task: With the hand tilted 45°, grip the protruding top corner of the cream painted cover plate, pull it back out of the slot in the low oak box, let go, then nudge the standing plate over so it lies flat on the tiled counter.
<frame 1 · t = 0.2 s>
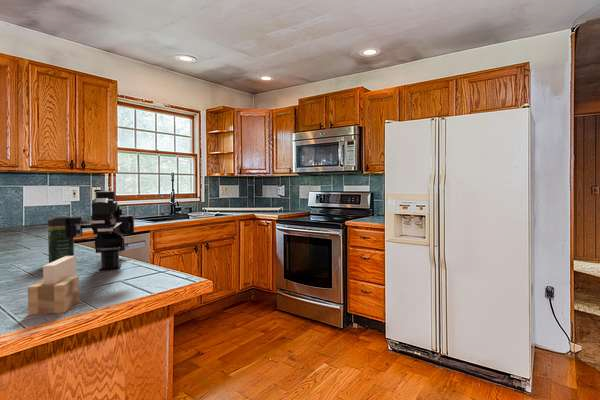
hand: (96, 230, 101), 17 cm above the table, tool horizontal, fingers open, 9 cm apart
coffee jar: (61, 264, 131), on the table
oak box: (55, 307, 85), on the table
cover plate: (61, 303, 88), on the table
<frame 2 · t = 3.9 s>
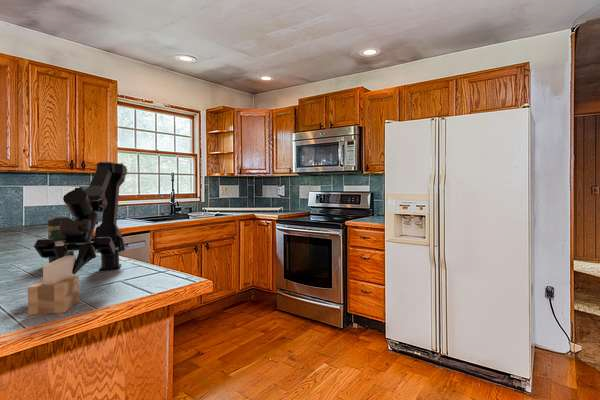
hand: (67, 273, 91), 7 cm above the table, tool tilted 45°, fingers closed on cover plate, 2 cm apart
cover plate: (61, 302, 88), on the table, touching gripper
everything else where it was.
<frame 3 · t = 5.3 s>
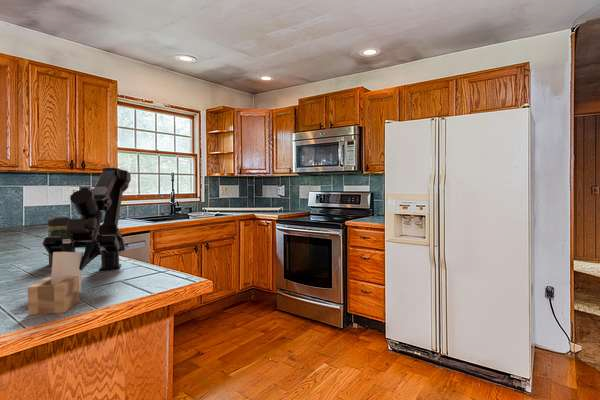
hand: (74, 269, 96), 7 cm above the table, tool tilted 45°, fingers closed on cover plate, 2 cm apart
cover plate: (66, 294, 90), point 1 cm above the table, tilted 12°, touching gripper
everything else where it was.
when the fingers open (7 cm above the table, at t = 6.5 s): cover plate stays where it is, on the table.
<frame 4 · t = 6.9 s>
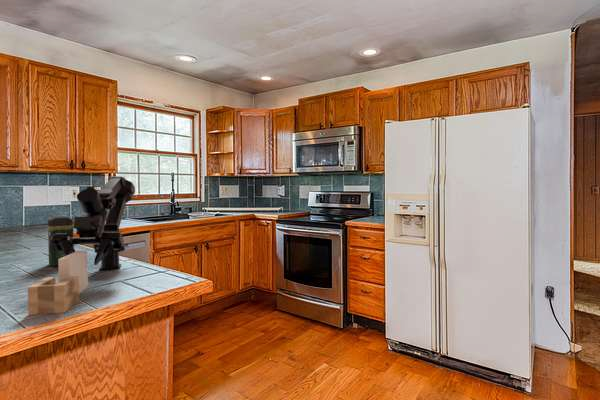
hand: (81, 264, 100), 7 cm above the table, tool tilted 45°, fingers open, 7 cm apart
cover plate: (74, 293, 96), on the table
everything else where it was.
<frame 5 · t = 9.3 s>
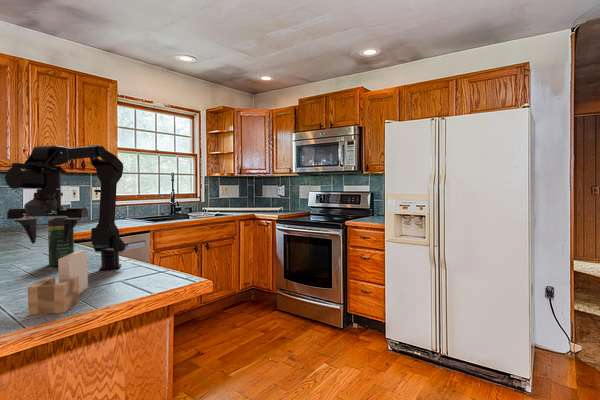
hand: (49, 242, 100), 13 cm above the table, tool pointing down, fingers open, 8 cm apart
nothing on the table moved.
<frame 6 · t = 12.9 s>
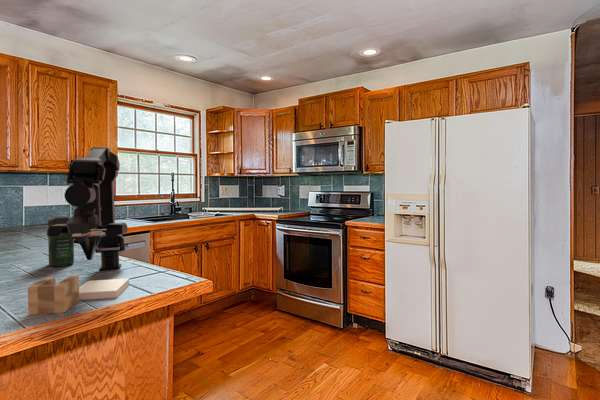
hand: (89, 259, 97), 9 cm above the table, tool pointing down, fingers closed
cover plate: (80, 290, 96), point 1 cm above the table, tilted 90°
everything else where it was.
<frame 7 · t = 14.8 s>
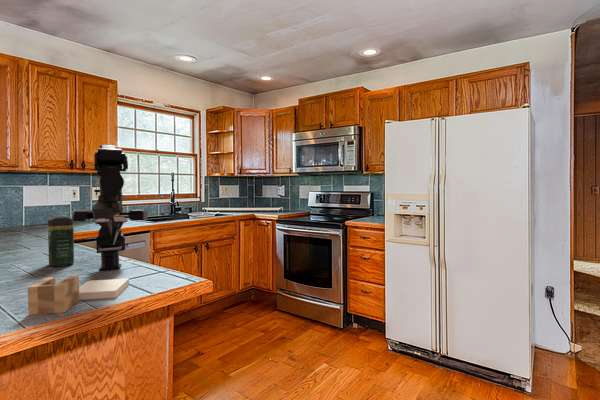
hand: (112, 244, 101), 13 cm above the table, tool pointing down, fingers closed
nothing on the table moved.
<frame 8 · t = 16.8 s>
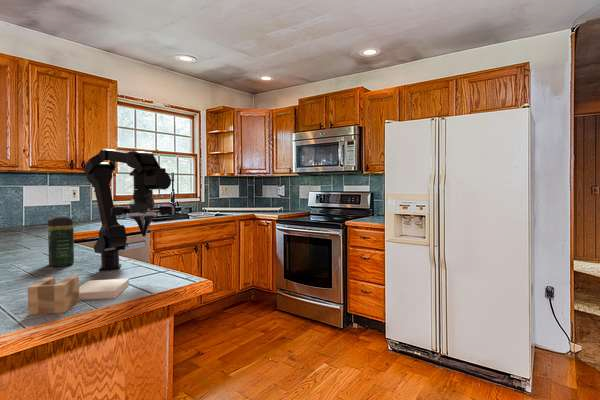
hand: (144, 236, 115), 13 cm above the table, tool pointing down, fingers closed
nothing on the table moved.
at the end: cover plate tilted 90°; cover plate touching table; cover plate moved 8.0 cm from its start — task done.
